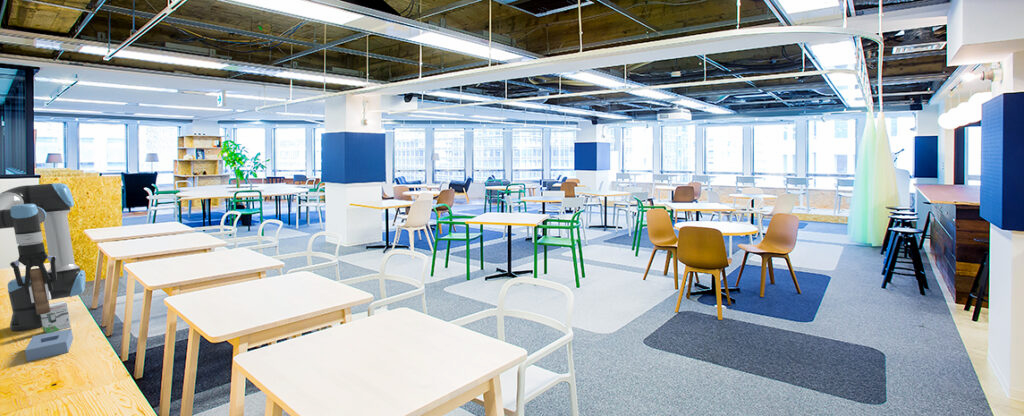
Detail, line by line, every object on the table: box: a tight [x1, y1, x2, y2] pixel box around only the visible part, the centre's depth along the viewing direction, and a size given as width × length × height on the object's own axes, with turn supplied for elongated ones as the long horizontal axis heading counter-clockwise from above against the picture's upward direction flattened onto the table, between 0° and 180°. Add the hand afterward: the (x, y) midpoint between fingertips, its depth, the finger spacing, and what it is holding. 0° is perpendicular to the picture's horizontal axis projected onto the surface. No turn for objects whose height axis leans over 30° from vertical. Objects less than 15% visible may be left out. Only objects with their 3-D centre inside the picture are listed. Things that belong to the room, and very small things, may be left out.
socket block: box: [24, 328, 74, 362], centre depth 202 cm, size 18×12×4 cm, turn 37°
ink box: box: [40, 300, 72, 334], centre depth 224 cm, size 9×5×12 cm, turn 147°
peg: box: [30, 267, 51, 315], centre depth 199 cm, size 4×4×18 cm
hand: (41, 300), depth 199 cm, fingers closed on peg, 4 cm apart
